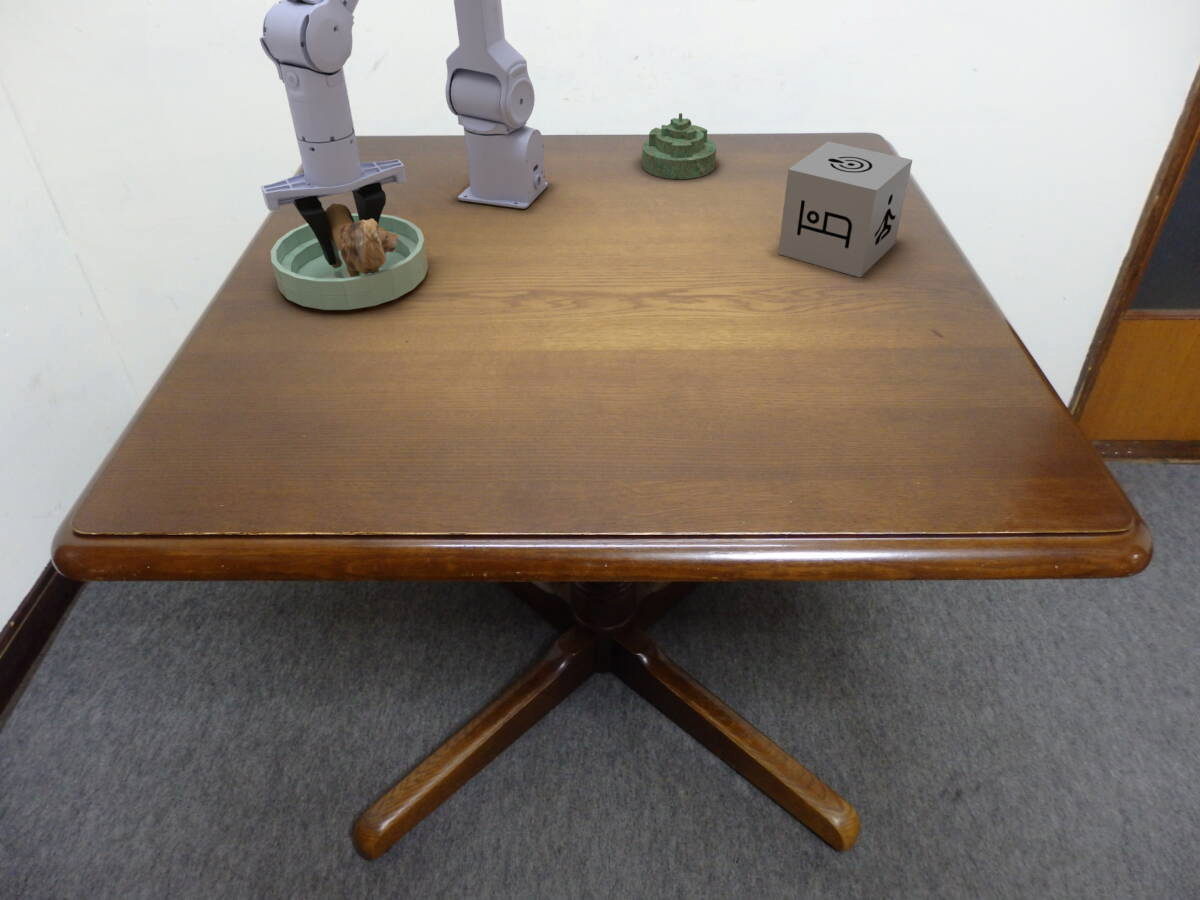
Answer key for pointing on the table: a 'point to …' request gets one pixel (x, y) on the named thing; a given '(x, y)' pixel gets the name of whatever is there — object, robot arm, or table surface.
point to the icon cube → (843, 207)
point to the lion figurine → (358, 241)
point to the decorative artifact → (678, 151)
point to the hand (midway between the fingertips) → (350, 256)
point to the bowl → (333, 288)
